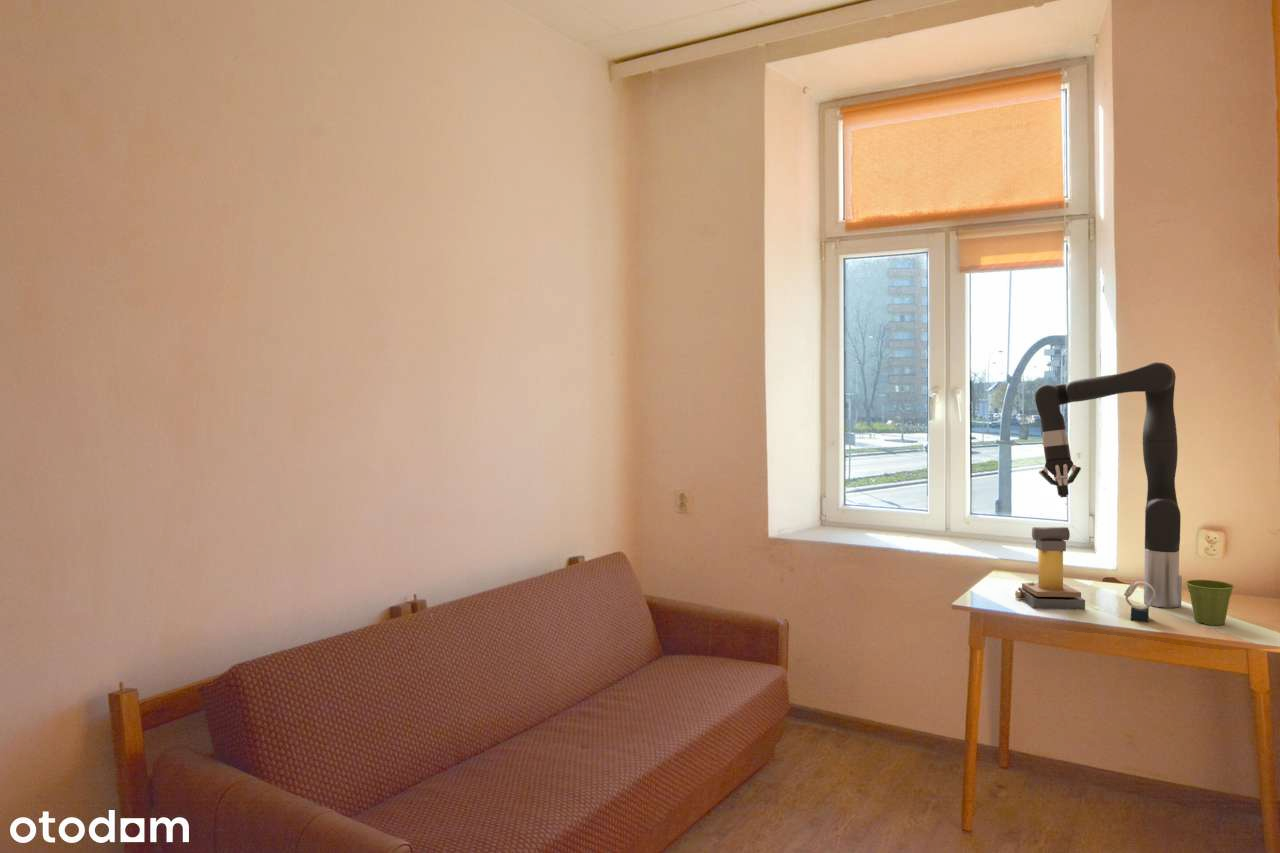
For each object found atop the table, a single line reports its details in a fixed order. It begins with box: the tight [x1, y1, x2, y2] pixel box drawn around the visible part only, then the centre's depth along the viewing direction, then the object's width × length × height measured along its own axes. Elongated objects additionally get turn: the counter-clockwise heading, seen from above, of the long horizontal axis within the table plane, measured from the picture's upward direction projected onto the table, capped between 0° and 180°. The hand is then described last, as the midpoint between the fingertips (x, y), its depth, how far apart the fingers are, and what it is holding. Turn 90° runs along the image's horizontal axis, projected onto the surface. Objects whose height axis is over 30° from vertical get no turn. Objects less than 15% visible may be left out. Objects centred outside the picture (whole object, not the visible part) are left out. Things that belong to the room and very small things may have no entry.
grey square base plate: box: [1014, 587, 1086, 611], centre depth 270 cm, size 18×17×3 cm
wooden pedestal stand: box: [1021, 526, 1082, 598], centre depth 269 cm, size 13×14×20 cm
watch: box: [1123, 580, 1156, 623], centre depth 250 cm, size 6×8×11 cm
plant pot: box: [1185, 579, 1236, 626], centre depth 245 cm, size 12×12×11 cm
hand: (1063, 497), depth 280 cm, fingers closed
